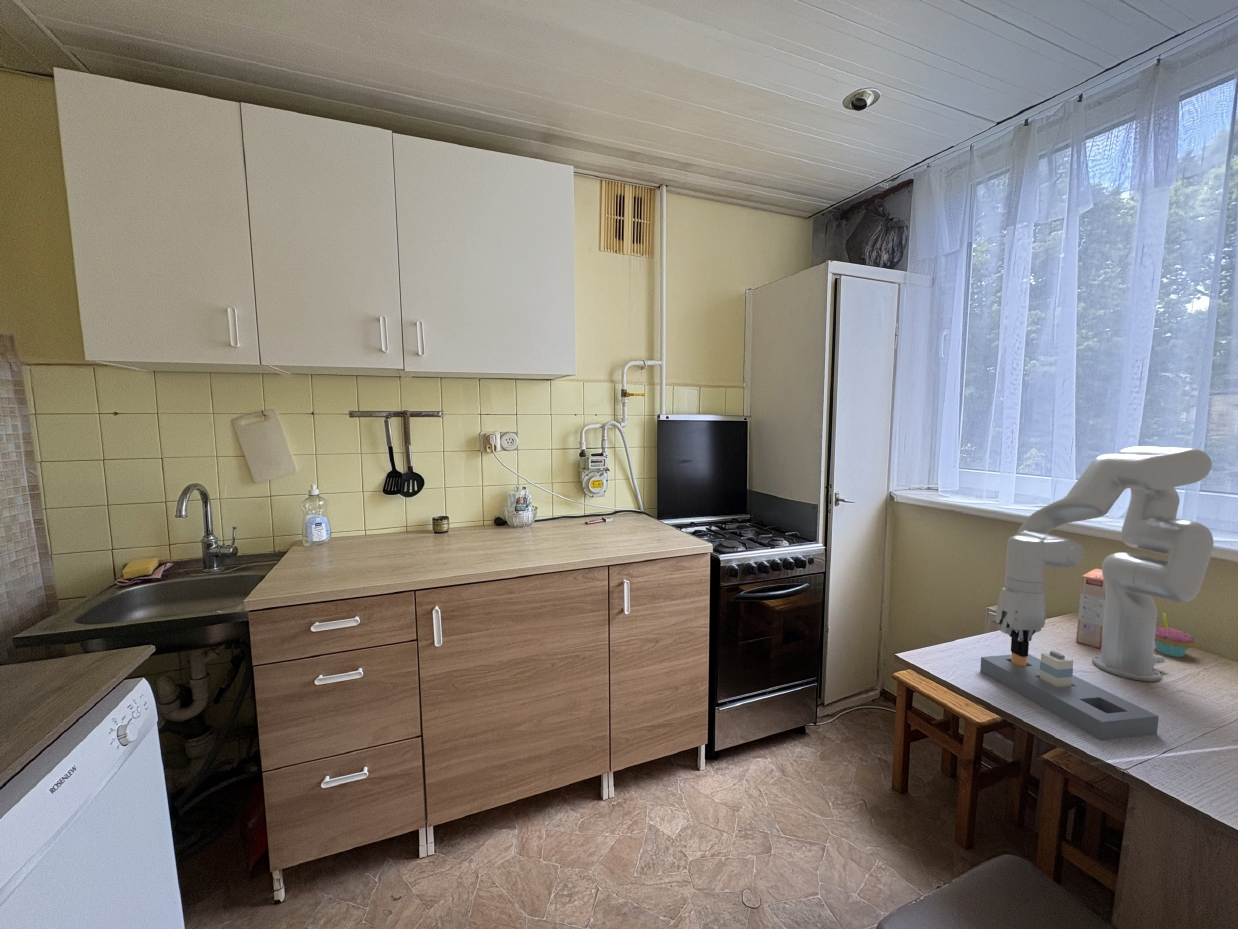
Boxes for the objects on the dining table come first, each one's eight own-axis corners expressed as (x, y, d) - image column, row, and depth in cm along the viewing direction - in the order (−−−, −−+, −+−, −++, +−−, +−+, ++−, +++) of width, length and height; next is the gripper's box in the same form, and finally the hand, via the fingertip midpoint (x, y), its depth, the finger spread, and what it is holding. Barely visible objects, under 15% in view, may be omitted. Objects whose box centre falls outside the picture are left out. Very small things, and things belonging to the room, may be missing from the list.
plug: (1052, 691, 116) (1055, 649, 115) (1070, 701, 112) (1073, 657, 111) (1038, 692, 116) (1041, 650, 115) (1055, 702, 112) (1058, 658, 111)
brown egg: (1017, 673, 124) (1018, 651, 124) (1028, 679, 121) (1030, 656, 121) (1007, 674, 124) (1008, 651, 124) (1018, 680, 121) (1019, 657, 121)
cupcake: (1148, 652, 137) (1151, 612, 136) (1147, 643, 142) (1151, 604, 142) (1194, 663, 130) (1199, 621, 129) (1192, 653, 136) (1196, 613, 135)
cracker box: (1102, 650, 138) (1108, 580, 137) (1075, 642, 143) (1080, 575, 142) (1116, 638, 146) (1121, 572, 144) (1089, 631, 151) (1094, 567, 149)
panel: (1026, 669, 128) (1027, 653, 127) (1156, 736, 100) (1158, 716, 100) (980, 673, 126) (981, 657, 125) (1100, 742, 98) (1102, 722, 98)
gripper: (1034, 578, 125) (1029, 645, 127) (984, 581, 123) (980, 649, 125) (1064, 588, 118) (1059, 659, 120) (1012, 591, 116) (1007, 663, 117)
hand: (1019, 654), depth 122 cm, fingers closed
